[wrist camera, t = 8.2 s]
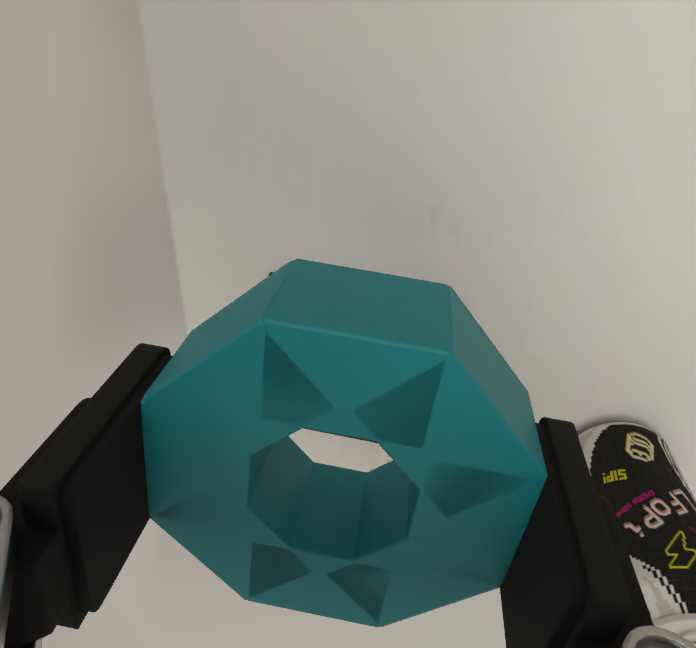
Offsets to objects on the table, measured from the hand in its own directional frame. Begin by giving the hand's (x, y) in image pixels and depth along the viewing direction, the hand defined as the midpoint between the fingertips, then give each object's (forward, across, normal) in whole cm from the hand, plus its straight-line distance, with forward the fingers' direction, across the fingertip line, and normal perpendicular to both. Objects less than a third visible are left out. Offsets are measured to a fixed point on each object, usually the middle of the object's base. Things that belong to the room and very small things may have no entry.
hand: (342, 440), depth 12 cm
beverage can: (+18, -15, +13) cm, 27 cm away
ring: (+1, 0, 0) cm, 1 cm away
